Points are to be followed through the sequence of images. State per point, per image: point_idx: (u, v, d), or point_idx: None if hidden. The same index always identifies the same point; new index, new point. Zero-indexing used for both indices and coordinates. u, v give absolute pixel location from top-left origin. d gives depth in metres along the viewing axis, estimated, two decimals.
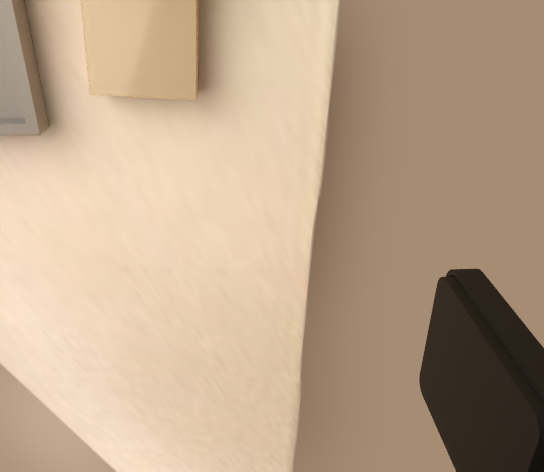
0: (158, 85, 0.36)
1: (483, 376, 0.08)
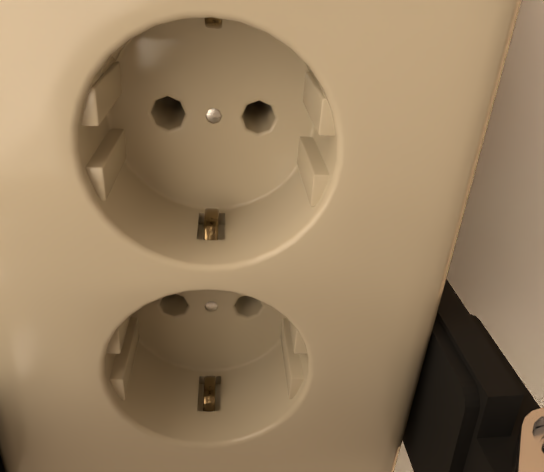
0: None
1: None
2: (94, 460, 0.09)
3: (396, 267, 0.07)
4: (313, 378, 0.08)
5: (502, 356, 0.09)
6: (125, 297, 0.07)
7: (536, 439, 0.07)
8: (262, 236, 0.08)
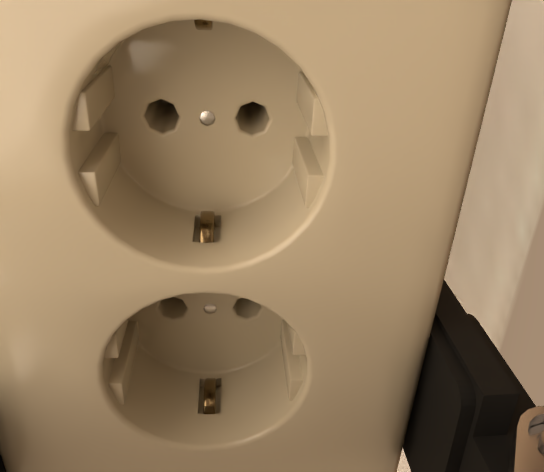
0: None
1: None
2: (94, 464, 0.09)
3: (393, 267, 0.07)
4: (312, 379, 0.08)
5: (499, 355, 0.09)
6: (121, 301, 0.07)
7: (532, 437, 0.07)
8: (258, 238, 0.08)
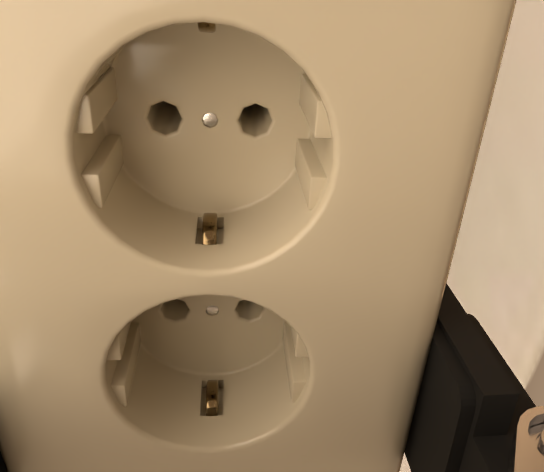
0: None
1: None
2: (97, 466, 0.09)
3: (396, 269, 0.07)
4: (315, 381, 0.08)
5: (499, 355, 0.09)
6: (124, 304, 0.07)
7: (532, 437, 0.07)
8: (260, 240, 0.08)
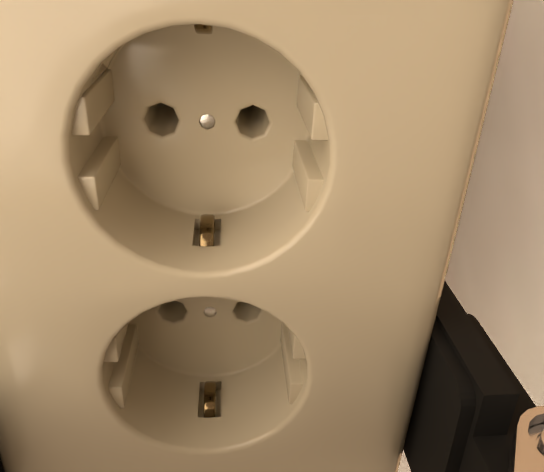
0: None
1: None
2: (94, 467, 0.09)
3: (393, 271, 0.07)
4: (312, 383, 0.08)
5: (499, 355, 0.09)
6: (121, 305, 0.07)
7: (532, 437, 0.07)
8: (257, 241, 0.08)
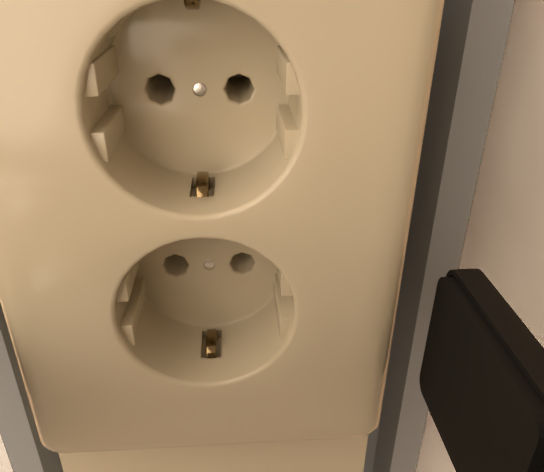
0: None
1: (483, 376, 0.08)
2: (111, 401, 0.10)
3: (363, 210, 0.08)
4: (299, 317, 0.09)
5: None
6: (129, 247, 0.08)
7: None
8: (246, 189, 0.09)
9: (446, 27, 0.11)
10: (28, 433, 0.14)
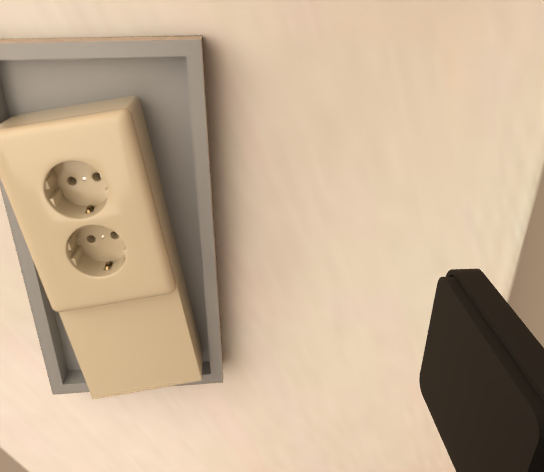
0: (160, 376, 0.34)
1: (483, 376, 0.08)
2: (72, 286, 0.29)
3: (134, 209, 0.27)
4: (127, 247, 0.28)
5: None
6: (66, 231, 0.28)
7: None
8: (100, 208, 0.28)
9: None
10: (43, 310, 0.33)
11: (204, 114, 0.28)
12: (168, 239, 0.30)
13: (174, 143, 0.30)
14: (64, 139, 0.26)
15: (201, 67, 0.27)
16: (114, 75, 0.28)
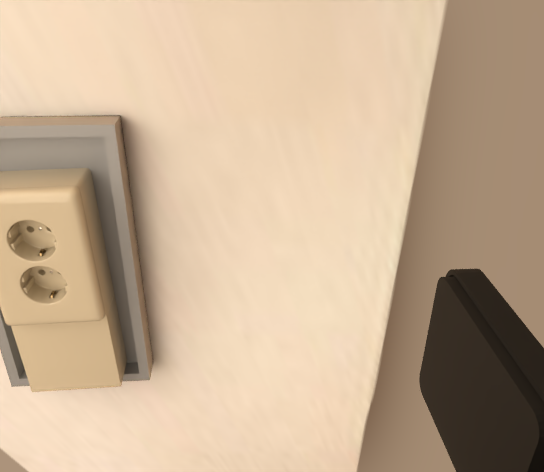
0: (88, 380, 0.42)
1: (483, 376, 0.08)
2: (22, 309, 0.38)
3: (76, 259, 0.36)
4: (68, 285, 0.37)
5: None
6: (21, 268, 0.36)
7: None
8: (50, 254, 0.36)
9: None
10: (1, 322, 0.41)
11: (120, 178, 0.36)
12: (103, 278, 0.39)
13: (101, 196, 0.38)
14: (26, 205, 0.34)
15: (116, 144, 0.35)
16: (50, 145, 0.36)
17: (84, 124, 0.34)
